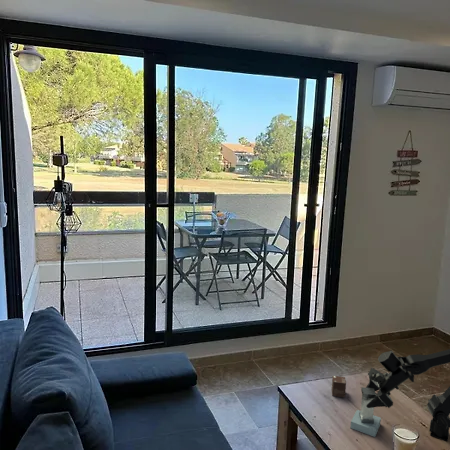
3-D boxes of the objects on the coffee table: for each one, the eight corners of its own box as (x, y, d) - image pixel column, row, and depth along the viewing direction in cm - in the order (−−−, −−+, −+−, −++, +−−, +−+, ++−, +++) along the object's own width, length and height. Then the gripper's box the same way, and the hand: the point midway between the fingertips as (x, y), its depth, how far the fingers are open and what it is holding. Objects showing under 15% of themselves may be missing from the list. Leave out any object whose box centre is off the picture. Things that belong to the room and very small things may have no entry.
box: (345, 398, 193) (346, 383, 192) (332, 396, 194) (333, 381, 193) (344, 391, 199) (345, 377, 198) (331, 389, 200) (332, 375, 199)
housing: (371, 416, 174) (373, 388, 172) (373, 424, 169) (376, 395, 167) (359, 415, 175) (361, 387, 173) (361, 422, 170) (363, 393, 168)
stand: (380, 424, 174) (380, 417, 174) (375, 437, 166) (375, 430, 165) (356, 415, 180) (357, 409, 179) (350, 428, 171) (350, 421, 171)
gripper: (376, 354, 177) (348, 375, 180) (387, 376, 159) (355, 399, 162) (393, 372, 177) (365, 393, 180) (406, 396, 159) (374, 419, 162)
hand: (364, 400), depth 171 cm, fingers open, 9 cm apart
